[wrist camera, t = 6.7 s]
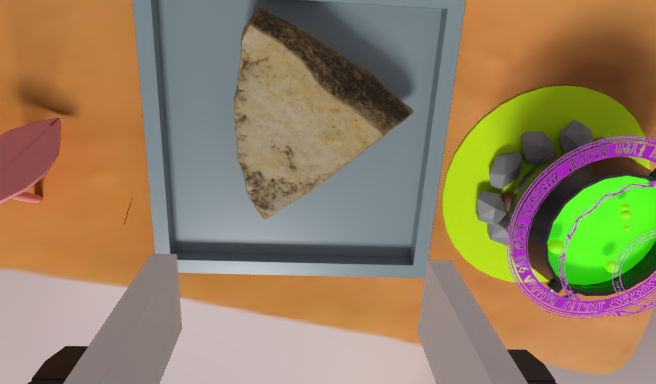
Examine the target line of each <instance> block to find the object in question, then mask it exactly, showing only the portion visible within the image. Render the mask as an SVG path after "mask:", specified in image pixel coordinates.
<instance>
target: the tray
mask: <svg viewBox="0 0 656 384" xmlns="http://www.w3.org/2000/svg"><path fill="white" fill-rule="evenodd" d="M465 4H466V0H133V10H134V21H135V33H136V44H137V55H138V66H139V77H140V89H141V100H142V111H143V122H144V133H145V145H146V156H147V167H148V178H149V189H150V200H151V212H152V223H153V234H154V245H155V254H177V266H178V273H218V274H263V275H308V276H354V277H399V278H425V275H426V268H427V261H428V256H429V250H430V243H431V236H432V229H433V222H434V216H435V209H436V202H437V195H438V188H439V181H440V175H441V168H442V161H443V154H444V147H445V140H446V134H447V127H448V120H449V113H450V106H451V99H452V93H453V86H454V79H455V72H456V65H457V58H458V52H459V45H460V38H461V31H462V24H463V17H464V11H465ZM256 8H265V9H267V10H268V11H270V12H271V13H273V14H274V15H276V16H278V17H280V18H282V19H284V20H287V21H289V22H291V23H294V24H295V25H296V26H298V27H299V28H300V29H302V30H305V31H307V32H309V33H311V34H313V35H314V36H315V37H317V38H319V39H320V40H321V41H323V42H324V43H325V44H327V45H328V46H329V47H331V48H332V49H334V50H336V51H338V52H339V53H341V54H342V55H343V56H344V57H345V58H347V59H348V60H351V61H352V62H354V63H355V64H356V65H358V66H361V67H364V68H366V69H367V70H368V71H369V72H371V73H372V74H373V75H374V76H375V77H376V78H377V79H378V80H379V81H380V82H381V83H382V84H383V86H384V87H385V88H387V89H388V90H390V91H392V92H393V93H395V94H396V95H397V96H398V97H399V98H400V99H401V100H402V102H404V103H405V104H406V105H408V106H410V107H411V108H412V109H413V114H412V115H410V116H409V117H408V118H407V119H405V120H404V121H403V122H402V123H401V124H399V125H397V126H396V127H394V128H393V129H392V130H391V131H389V132H388V133H387V134H386V135H385V136H383V137H382V138H380V139H379V140H378V141H377V142H376V143H374V144H373V145H372V146H370V147H369V148H367V149H366V150H364V151H363V152H362V153H361V154H360V155H359V156H357V157H356V158H355V159H354V160H353V161H352V162H350V163H349V164H348V165H346V166H345V167H344V168H342V169H341V170H340V171H338V172H337V173H336V174H334V175H333V176H331V177H330V178H328V179H327V180H325V181H324V182H322V183H321V184H319V185H318V186H317V187H315V188H314V189H312V190H311V191H310V192H309V193H308V194H306V195H304V196H303V197H301V198H299V199H298V200H296V201H295V202H293V203H291V204H289V205H288V206H286V207H284V208H282V209H281V210H280V211H278V212H277V213H275V214H273V215H272V216H270V217H268V218H267V219H264V218H263V217H262V216H261V214H260V213H259V212H258V211H257V210H256V208H255V205H254V203H253V202H252V201H251V200H250V198H249V196H248V194H247V191H246V184H245V180H244V177H243V172H242V168H241V166H240V165H239V163H238V161H237V136H236V133H235V127H236V124H235V119H234V97H235V93H236V90H237V85H238V72H239V65H240V58H241V37H242V32H243V29H244V27H245V25H246V24H247V22H248V20H249V19H251V18H252V16H253V14H254V11H255V9H256Z"/></svg>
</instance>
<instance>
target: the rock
mask: <svg viewBox="0 0 656 384" xmlns="http://www.w3.org/2000/svg"><path fill="white" fill-rule="evenodd" d="M412 114H413V109H412V108H411V107H410V106H408V105H406V104H405V103H404V102H402V100H401V99H400V98H399V97H398V96H397V95H396V94H395V93H393V92H392V91H390V90H388V89H387V88H385V87H384V86H383V84H382V83H381V82H380V81H379V80H378V79H377V78H376V77H375V76H374V75H373V74H372V73H371V72H369V71H368V70H367V69H366V68H364V67H361V66H358V65H356V64H355V63H354V62H352V61H351V60H348V59H347V58H345V57H344V56H343V55H342V54H341V53H339V52H338V51H336V50H334V49H332V48H331V47H329V46H328V45H327V44H325V43H324V42H323V41H321V40H320V39H319V38H317V37H315V36H314V35H313V34H311V33H309V32H307V31H305V30H302V29H300V28H299V27H298V26H296V25H295V24H294V23H291V22H289V21H287V20H284V19H282V18H280V17H278V16H276V15H274V14H273V13H271V12H270V11H268V10H267V9H265V8H256V9H255V11H254V14H253V16H252V18H251V19H249V20H248V22H247V24H246V25H245V27H244V29H243V32H242V37H241V58H240V65H239V72H238V85H237V90H236V93H235V97H234V119H235V124H236V127H235V133H236V136H237V161H238V163H239V165H240V166H241V168H242V172H243V177H244V180H245V184H246V191H247V194H248V196H249V198H250V200H251V201H252V202H253V203H254V205H255V208H256V210H257V211H258V212H259V213H260V214H261V216H262V217H263V218H264V219H267V218H268V217H270V216H272V215H273V214H275V213H277V212H278V211H280V210H281V209H282V208H284V207H286V206H288V205H289V204H291V203H293V202H295V201H296V200H298V199H299V198H301V197H303V196H304V195H306V194H308V193H309V192H310V191H311V190H312V189H314V188H315V187H317V186H318V185H319V184H321V183H322V182H324V181H325V180H327V179H328V178H330V177H331V176H333V175H334V174H336V173H337V172H338V171H340V170H341V169H342V168H344V167H345V166H346V165H348V164H349V163H350V162H352V161H353V160H354V159H355V158H356V157H357V156H359V155H360V154H361V153H362V152H363V151H364V150H366V149H367V148H369V147H370V146H372V145H373V144H374V143H376V142H377V141H378V140H379V139H380V138H382V137H383V136H385V135H386V134H387V133H388V132H389V131H391V130H392V129H393V128H394V127H396V126H397V125H399V124H401V123H402V122H403V121H404V120H405V119H407V118H408V117H409V116H410V115H412Z"/></svg>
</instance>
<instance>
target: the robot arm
mask: <svg viewBox="0 0 656 384" xmlns="http://www.w3.org/2000/svg"><path fill="white" fill-rule="evenodd" d="M181 329H182V322H181V309H180V294H179V280H178V266H177V254H151V255H150V256H149V258H148V259H147V261H146V262H145V264H144V265H143V267H142V268H141V270H140V271H139V273H138V274H137V275H136V277H135V278H134V280H133V281H132V283H131V284H130V286H129V287H128V289H127V290H126V292H125V293H124V295H123V296H122V298H121V299H120V301H119V302H118V304H117V305H116V307H115V308H114V309H113V311H112V313H111V314H110V315H109V317H108V319H107V320H106V321H105V323H104V324H103V326H102V327H101V329H100V330H99V332H98V333H97V335H96V336H95V337H94V339H93V340H92V342H91V343H90V345H89V346H88V347H87V346H86V347H85V346H65V347H64V348H63V349H61V350H60V351H59V352H57V353H56V354H54V355H53V356H52V357H51V358H49V359H48V360H46V361H45V362H44V364H43V365H42V366H41V367H40V369H39V370H38V371H37V373H36V374H35V375H34V377H33V378H32V381H31V382H29V383H28V384H159V383H160V381H161V378H162V376H163V373H164V371H165V368H166V366H167V364H168V361H169V359H170V356H171V354H172V351H173V349H174V346H175V344H176V341H177V339H178V337H179V334H180V332H181ZM417 332H418V335H419V338H420V341H421V343H422V346H423V349H424V351H425V354H426V357H427V359H428V362H429V365H430V368H431V370H432V373H433V376H434V378H435V381H436V384H556V383H555V379H554V378H553V376H552V375H551V374H550V372H549V371H548V369H547V368H546V367H545V365H544V364H543V363H542V362H541V361H539V360H538V359H537V358H536V357H534V356H533V355H532V354H531V353H529V352H528V351H527V350H507V349H506V348H505V346H504V345H503V343H502V341H501V340H500V338H499V337H498V335H497V333H496V332H495V330H494V329H493V327H492V325H491V324H490V322H489V321H488V319H487V317H486V316H485V314H484V313H483V311H482V309H481V308H480V306H479V305H478V303H477V301H476V300H475V298H474V297H473V295H472V293H471V292H470V290H469V289H468V287H467V285H466V284H465V282H464V281H463V279H462V277H461V276H460V274H459V273H458V271H457V269H456V268H455V266H454V265H453V263H452V261H443V260H428V261H427V268H426V275H425V281H424V288H423V295H422V302H421V309H420V316H419V322H418V329H417Z"/></svg>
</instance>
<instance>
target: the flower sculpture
mask: <svg viewBox="0 0 656 384" xmlns="http://www.w3.org/2000/svg"><path fill="white" fill-rule="evenodd" d="M60 130H61V121H60V118H53V119H48V120H43V121H39V122H35V123H32V124H28V125H25V126H21V127H18V128H14V129H11V130H9V131H7V132H6V133H4V134H2V135H0V204H2V203H4V202H6V201H8V200H10V199H15V200H21V201H28V202H34V203H39V202H41V201H42V197H41V196H40V195H36V194H31V193H25V191H27V190H29V189H30V188H31V187H32V186H33V185H35V184H36V183H37V182H38V181H39V180H40V179H41V178H43V177H44V176H45V175H46V174H47V172H48V171H49V169H50V167H51V166H52V164H53V163H54V161H55V159H56V158H57V156H58V155H59V148H60V142H59V136H60ZM60 140H61V136H60ZM58 144H59V148H58ZM130 204H131V203H130ZM129 207H130V205H129ZM128 211H129V209H128ZM127 214H128V212H127ZM126 217H127V216H126ZM125 221H126V219H125ZM124 224H125V222H124Z"/></svg>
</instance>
